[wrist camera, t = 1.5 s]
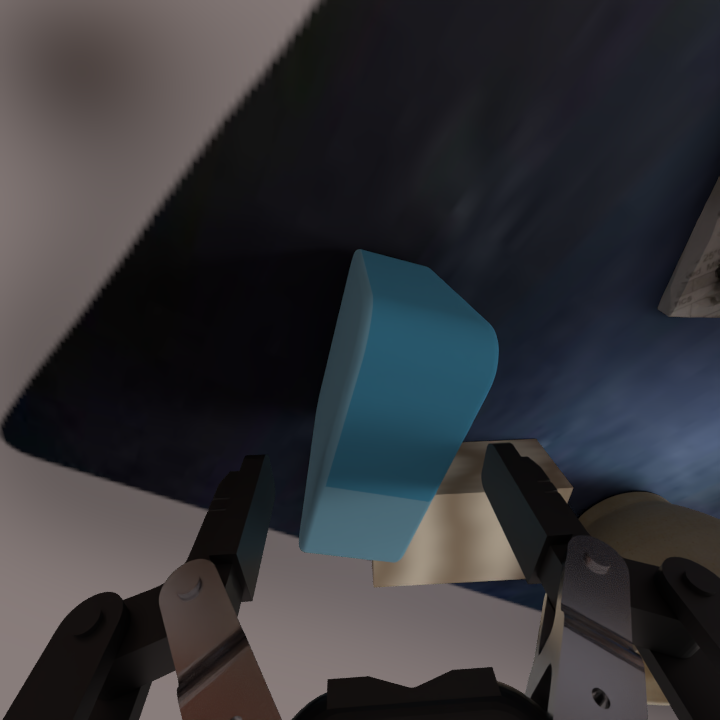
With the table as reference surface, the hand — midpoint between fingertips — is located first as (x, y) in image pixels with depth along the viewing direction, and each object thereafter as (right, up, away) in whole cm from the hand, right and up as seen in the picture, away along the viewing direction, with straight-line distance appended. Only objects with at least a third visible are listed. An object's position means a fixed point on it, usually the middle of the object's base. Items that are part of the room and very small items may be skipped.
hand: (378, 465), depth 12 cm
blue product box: (0, +5, +11) cm, 12 cm away
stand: (+7, -8, +17) cm, 20 cm away
